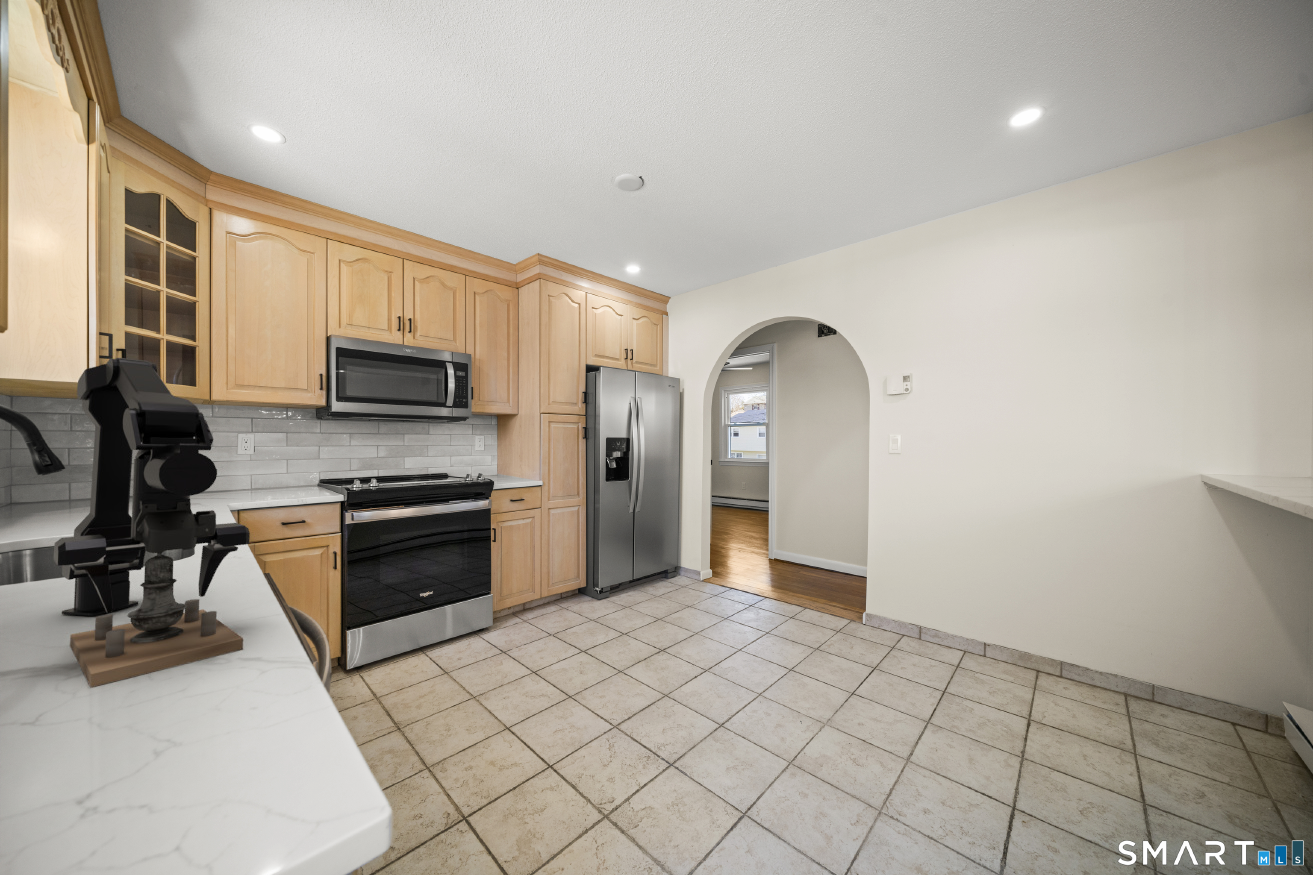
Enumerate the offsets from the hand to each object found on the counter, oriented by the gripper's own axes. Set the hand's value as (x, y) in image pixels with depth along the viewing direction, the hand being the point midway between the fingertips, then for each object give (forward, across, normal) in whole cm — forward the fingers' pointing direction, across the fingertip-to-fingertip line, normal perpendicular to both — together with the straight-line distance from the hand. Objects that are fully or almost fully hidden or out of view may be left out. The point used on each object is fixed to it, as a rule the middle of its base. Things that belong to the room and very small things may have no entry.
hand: (157, 603), depth 69 cm
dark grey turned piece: (+5, 0, 0) cm, 5 cm away
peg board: (+6, 0, 0) cm, 6 cm away
